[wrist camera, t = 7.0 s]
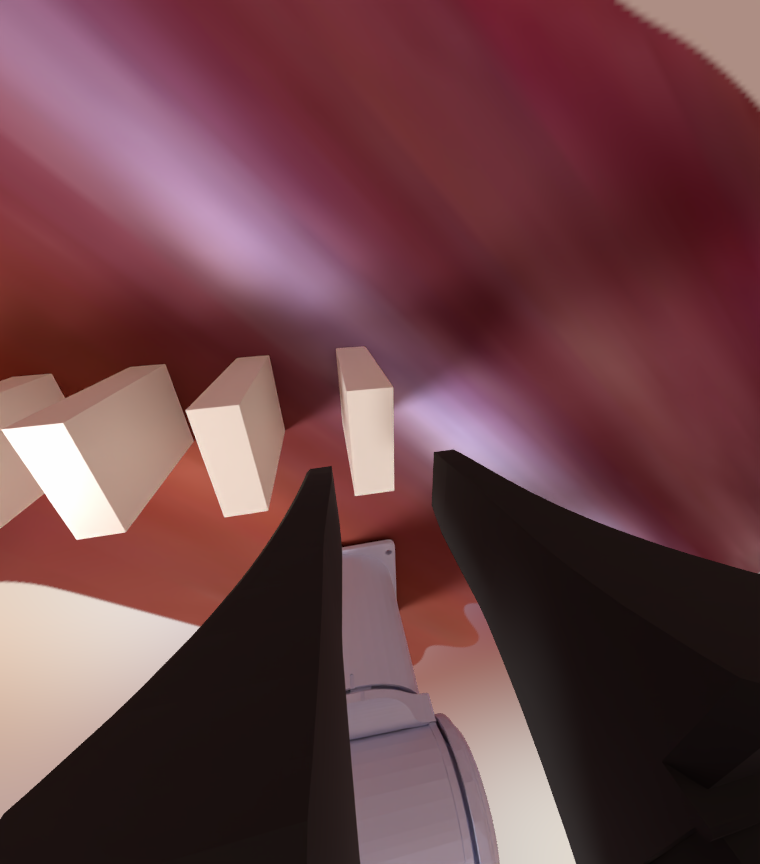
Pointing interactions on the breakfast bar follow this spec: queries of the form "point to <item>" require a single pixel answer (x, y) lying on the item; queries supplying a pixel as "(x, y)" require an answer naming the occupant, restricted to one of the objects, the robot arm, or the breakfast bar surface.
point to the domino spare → (366, 420)
